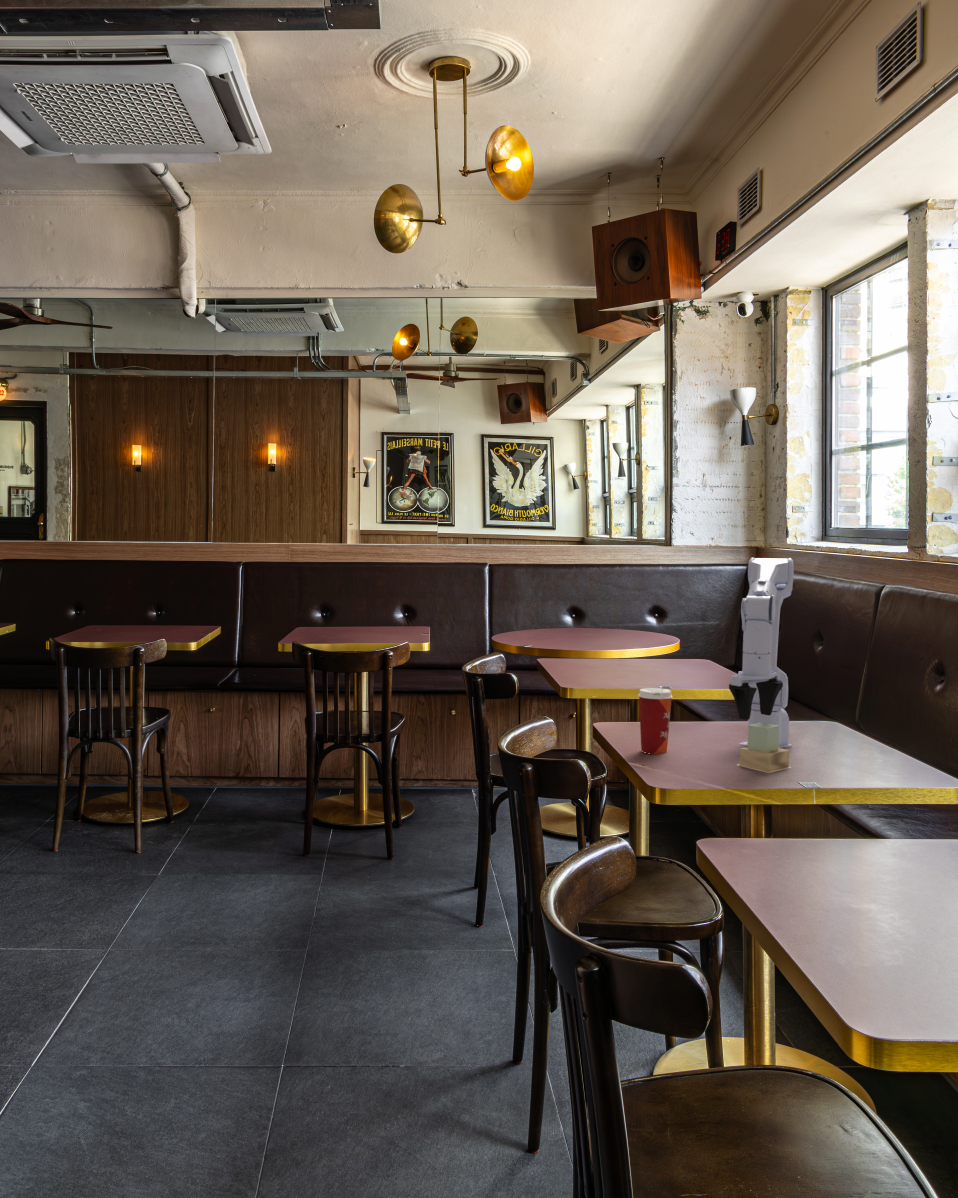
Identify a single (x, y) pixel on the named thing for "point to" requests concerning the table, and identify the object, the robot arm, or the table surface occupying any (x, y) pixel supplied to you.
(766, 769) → the oak base
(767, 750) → the sage block
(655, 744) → the paper cup
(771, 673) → the robot arm
